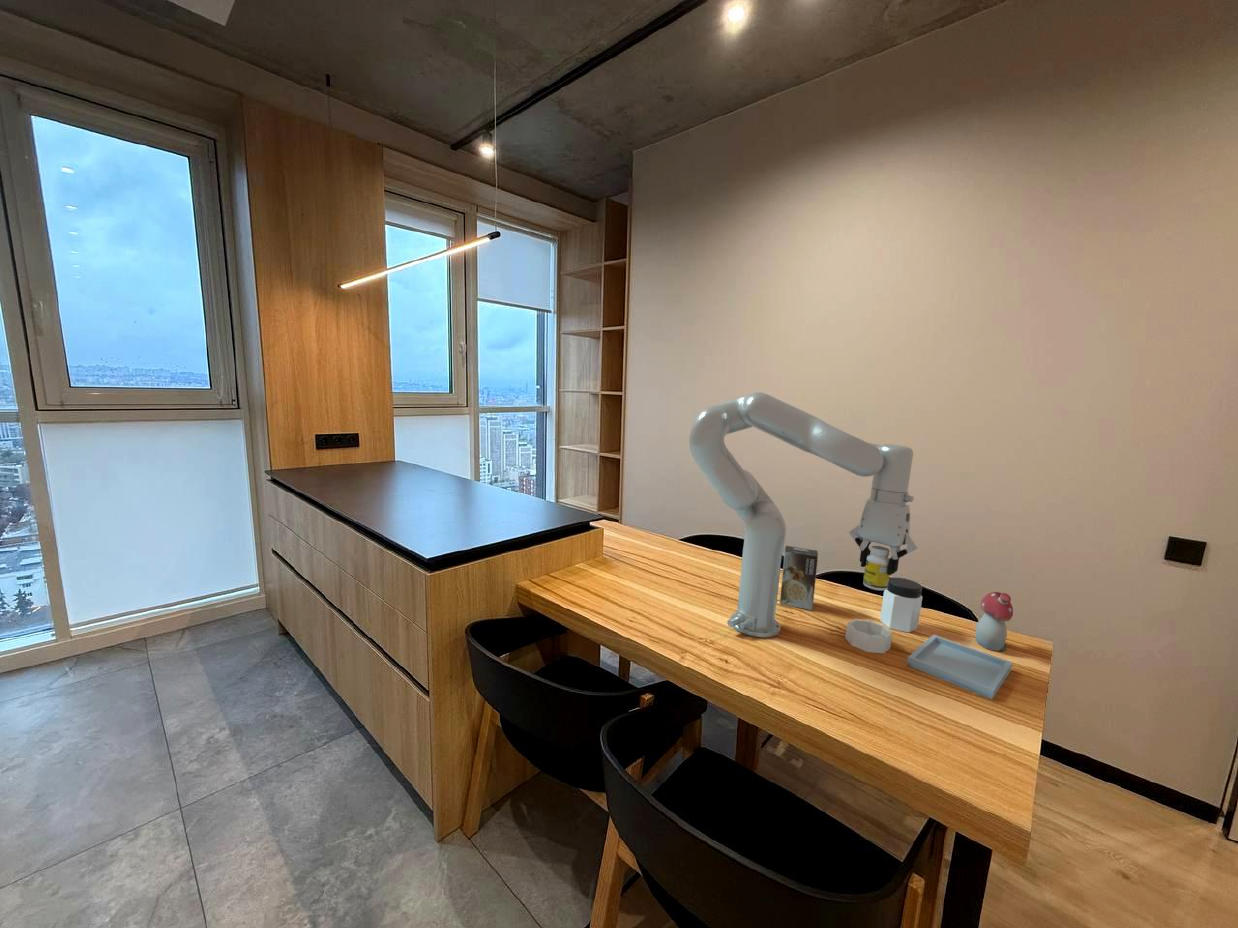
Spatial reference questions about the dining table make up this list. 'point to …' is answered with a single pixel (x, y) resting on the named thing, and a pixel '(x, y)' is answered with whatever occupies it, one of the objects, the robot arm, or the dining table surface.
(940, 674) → the tray
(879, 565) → the supplement bottle
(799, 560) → the coffee box
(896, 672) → the dining table surface
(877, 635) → the bowl
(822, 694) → the dining table surface
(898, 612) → the jar
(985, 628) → the decorative ornament
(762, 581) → the robot arm
